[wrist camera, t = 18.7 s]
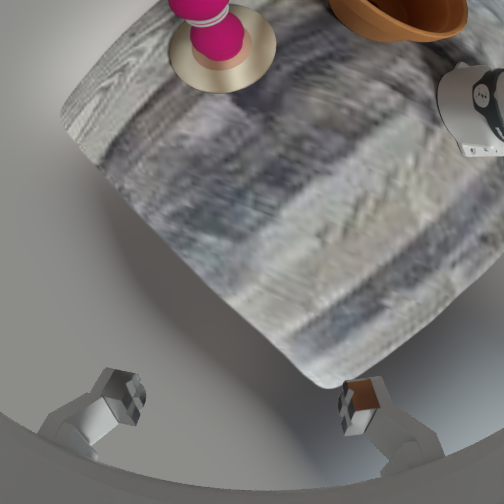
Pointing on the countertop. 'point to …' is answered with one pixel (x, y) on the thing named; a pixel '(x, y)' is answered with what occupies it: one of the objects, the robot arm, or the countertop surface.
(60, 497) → the robot arm
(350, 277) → the countertop surface
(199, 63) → the disc
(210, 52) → the pepper mill
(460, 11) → the flower pot
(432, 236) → the countertop surface
